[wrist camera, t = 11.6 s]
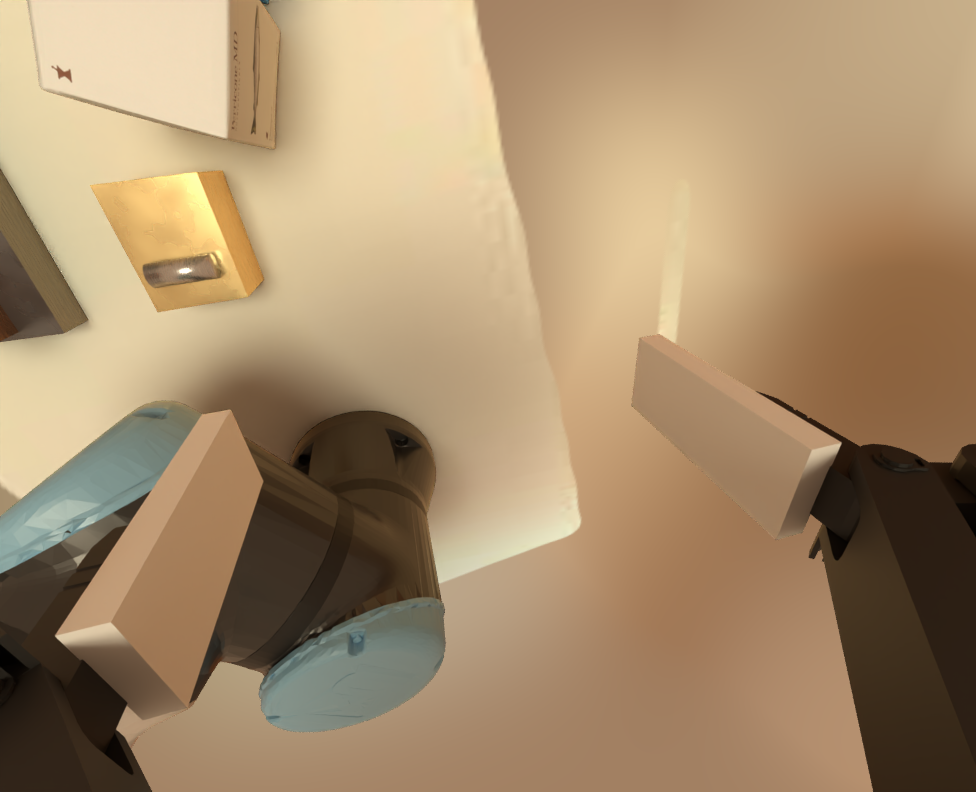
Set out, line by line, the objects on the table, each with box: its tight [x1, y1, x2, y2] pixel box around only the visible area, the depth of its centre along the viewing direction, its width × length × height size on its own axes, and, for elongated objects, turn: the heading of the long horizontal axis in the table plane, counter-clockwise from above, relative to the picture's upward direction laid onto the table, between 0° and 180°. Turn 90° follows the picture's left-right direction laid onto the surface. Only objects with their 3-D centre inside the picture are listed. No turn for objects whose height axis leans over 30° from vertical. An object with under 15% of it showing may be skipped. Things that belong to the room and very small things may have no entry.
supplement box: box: [26, 0, 280, 149], centre depth 23 cm, size 7×7×13 cm
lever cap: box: [90, 171, 264, 312], centre depth 29 cm, size 8×6×7 cm
